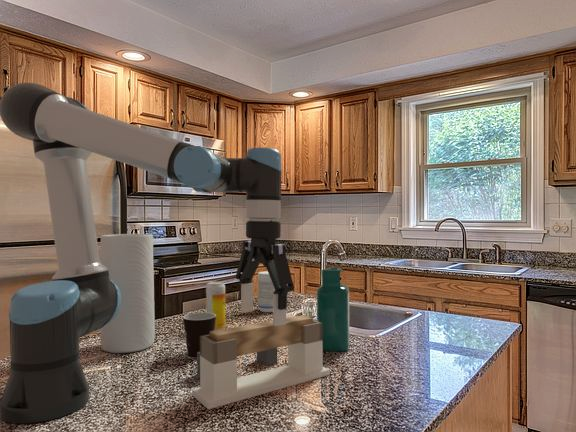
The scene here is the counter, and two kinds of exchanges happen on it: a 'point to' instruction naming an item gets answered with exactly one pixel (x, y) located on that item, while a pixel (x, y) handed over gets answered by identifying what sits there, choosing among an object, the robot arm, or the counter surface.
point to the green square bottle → (333, 311)
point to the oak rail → (264, 335)
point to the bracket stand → (228, 388)
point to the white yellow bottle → (216, 303)
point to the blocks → (263, 356)
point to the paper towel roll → (130, 292)
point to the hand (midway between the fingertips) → (262, 318)
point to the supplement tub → (265, 292)
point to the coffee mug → (197, 330)
